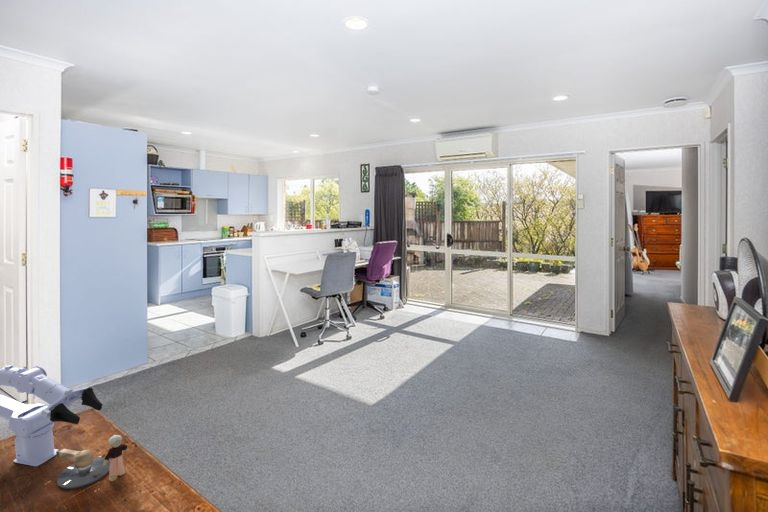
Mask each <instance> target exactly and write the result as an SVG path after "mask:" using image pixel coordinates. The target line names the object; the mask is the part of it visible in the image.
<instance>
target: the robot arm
mask: <svg viewBox="0 0 768 512" xmlns="http://www.w3.org/2000/svg"><path fill="white" fill-rule="evenodd" d="M0 386H5V387H10V388H15V390H17V391H16V392H18V393H20V394H23V393H26V394H28V395H31V394H32V395H33V396H35V397H36V398H39V399H40V400H42V401H43V402H45V403H47V404H42V403H31V404H26V403H23V402H20V401H19V400H15V399H13V398H11V397H9V396H6V395H3V394H0V418H2V419H5V420H8V429H9V430H10V431H12V432H14V434H15V435H16V437H15V439H14V449H15V450H14V451H15V459H13V463H16V464H22V465H25V466H26V465H28V466H31V467H39V466H40V465H42V464H44V463H45V462H47V461H48V460H50V459H52V458H53V457H56V456H57V454H56V451H58V450H59V449H57V448H55V442H54V434H53V427H54V426H55V422H63V423H70V424H74V425H78V424H79V423H80V420H81V417H80V416H78V415H77V414H76V413H74V412H72V410H70V409H69V407H70V406H71V405H73V404H74V403H75V402H77V401H78V400H80V399H81V406H87V407H90V408H92V409H94V410H96V411H101V410H102V408H103V403H102V402H101V401H100V400H99V399H98V397H97V396H96V395H95V392H94V389H93V388H92V387H90V386H88V385H87V386H85V387H80V388H77V389H73V388H68V387H66V386H65V385H63V384H61V383H59V382H58V381H56V380H55V379H54V378H53V379H52V378H51V377H50V376H48V374H47V371H46V370H45V369H44V368H43V367H41V366H39V365H38V366H37V365H36V366H34V367H32V368H26V367H16V366H14V365H12V364H11V365H10V364H9V365H5V366H4V367H2V368H0Z"/></svg>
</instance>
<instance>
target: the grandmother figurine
mask: <svg viewBox="0 0 768 512" xmlns="http://www.w3.org/2000/svg"><path fill="white" fill-rule="evenodd" d="M122 440H123V437H122V435H120V434H113V435H112V436H111V437H110V438H109V439H108V444H109V445H110V446H111V448H109V450H108V451H107V453H106V455H105V456H104V457H103V458H104V463H103V464H102V465H103V466H106V465H107V462H108V460H110V467H109V472H108V475H109V476H108V480H109V481H110V482H115V481H116V480H118V477H121V476H124V475H125V474H126V471H125V466H124V459H123V458H124V457H123V451H125V453H129V452H130V448H129V447H128V445H126V444H125V443H124V444H123V443H122Z"/></svg>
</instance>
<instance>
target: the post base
mask: <svg viewBox="0 0 768 512" xmlns="http://www.w3.org/2000/svg"><path fill="white" fill-rule="evenodd" d="M104 458H105V457H93V462H92V464H90V465H89V466H86V467H84V468H76V467H75V463H73V464H71V465H69V466H67V467H66V468H65V469H63V470H61V472H60V473H59V474H58V475H57V479H56V484H57V486H58V487H59V488H60V489H64V490H75V489H79V488H80V489H81V488H83V487H88V486H89V485H93V484H94V483H96V482H98V481H100V480H101V479H103V478H105V477H106V476H107V475H109V467H110V459H109V460H108V462H107V465H106V466H103V465H102V464H103V463H104ZM106 474H107V475H106Z"/></svg>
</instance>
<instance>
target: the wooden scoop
mask: <svg viewBox="0 0 768 512" xmlns="http://www.w3.org/2000/svg"><path fill="white" fill-rule="evenodd" d="M56 454H57V455H56V459H63V460H69V461H74V462H73V464H75V467H76V468H84V467H86V466H89V465H90V464H92V462H93V458H94V456H93V455H94V454H93V450H92V449H84V450H83V449H82V450H80V451H79V450H73V449H68V448H64V447H61V448H60V449H58V451H56Z"/></svg>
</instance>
